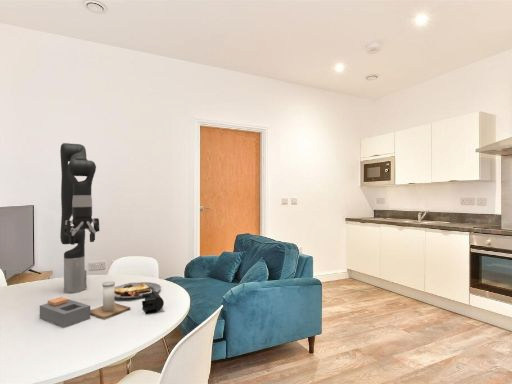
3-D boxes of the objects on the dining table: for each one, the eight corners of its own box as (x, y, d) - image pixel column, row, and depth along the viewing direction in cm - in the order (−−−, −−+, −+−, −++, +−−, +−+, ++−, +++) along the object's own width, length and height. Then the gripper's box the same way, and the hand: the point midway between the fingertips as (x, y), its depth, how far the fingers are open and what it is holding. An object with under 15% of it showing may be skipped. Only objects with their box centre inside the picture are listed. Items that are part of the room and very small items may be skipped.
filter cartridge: (110, 306, 133) (110, 280, 134) (117, 308, 131) (117, 282, 131) (99, 310, 129) (99, 283, 129) (107, 312, 127) (106, 285, 127)
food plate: (113, 304, 138) (114, 296, 138) (101, 292, 156) (101, 285, 156) (167, 294, 154) (167, 287, 154) (150, 284, 172) (150, 278, 172)
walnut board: (112, 304, 138) (112, 302, 138) (130, 309, 132) (130, 307, 132) (86, 313, 128) (86, 311, 128) (104, 319, 122) (104, 317, 122)
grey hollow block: (65, 309, 132) (65, 298, 132) (90, 318, 123) (90, 305, 123) (39, 318, 124) (39, 305, 124) (64, 327, 115) (64, 314, 115)
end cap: (163, 311, 130) (163, 295, 130) (146, 315, 126) (146, 298, 126) (158, 304, 138) (158, 289, 139) (141, 307, 135) (141, 292, 135)
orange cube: (61, 308, 130) (61, 296, 130) (68, 310, 127) (68, 298, 127) (47, 312, 125) (47, 300, 125) (54, 315, 123) (54, 302, 123)
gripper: (70, 206, 127) (70, 246, 127) (102, 205, 139) (103, 241, 139) (60, 206, 131) (60, 244, 131) (93, 205, 143) (93, 240, 143)
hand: (82, 243), depth 135 cm, fingers open, 8 cm apart
